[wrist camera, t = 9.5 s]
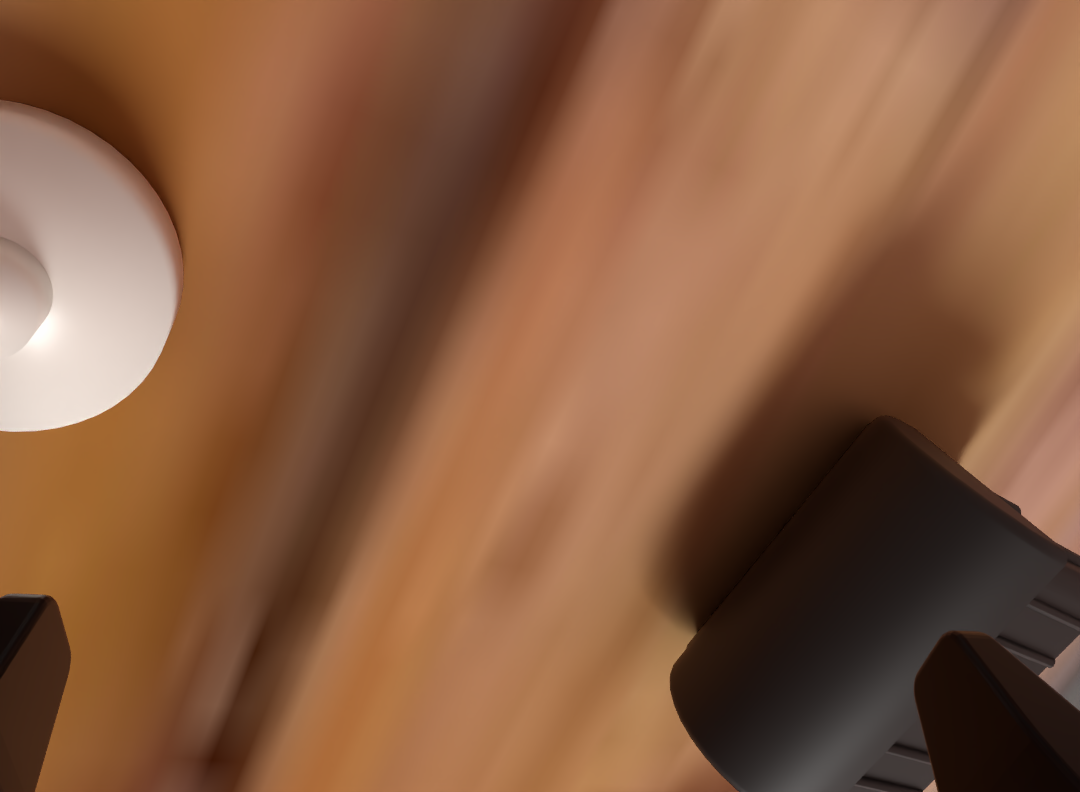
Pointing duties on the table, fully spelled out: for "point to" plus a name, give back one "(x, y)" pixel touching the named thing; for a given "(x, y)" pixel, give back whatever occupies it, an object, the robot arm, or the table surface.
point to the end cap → (867, 620)
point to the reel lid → (77, 272)
